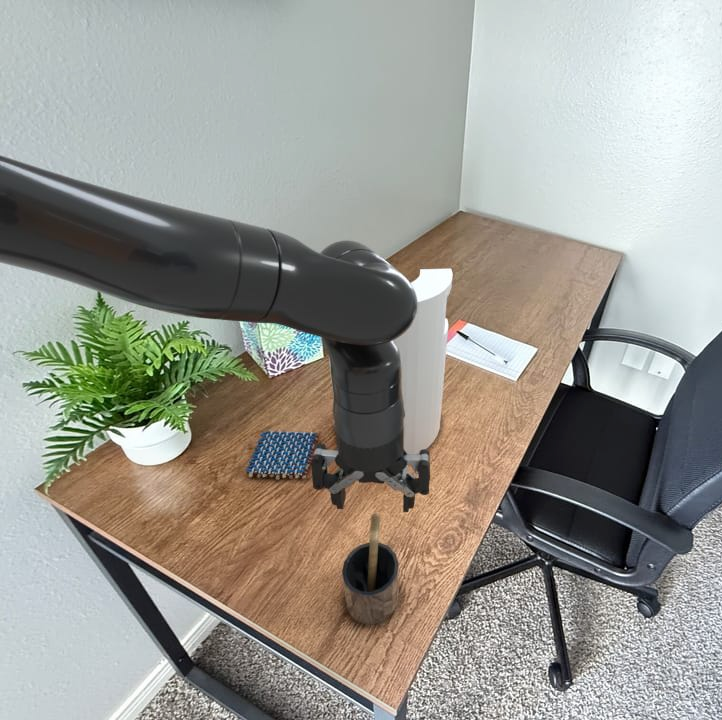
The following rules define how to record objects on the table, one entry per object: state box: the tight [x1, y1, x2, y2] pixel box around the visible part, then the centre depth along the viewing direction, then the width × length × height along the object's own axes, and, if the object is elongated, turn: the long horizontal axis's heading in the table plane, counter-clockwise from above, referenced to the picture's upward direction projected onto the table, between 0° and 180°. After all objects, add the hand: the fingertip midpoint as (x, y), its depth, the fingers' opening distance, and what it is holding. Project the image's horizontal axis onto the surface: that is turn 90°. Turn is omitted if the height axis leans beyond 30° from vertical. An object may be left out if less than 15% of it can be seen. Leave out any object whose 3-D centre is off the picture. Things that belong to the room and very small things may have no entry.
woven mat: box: [245, 430, 319, 481], centre depth 86 cm, size 10×11×2 cm
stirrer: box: [367, 512, 381, 592], centre depth 65 cm, size 9×1×13 cm, turn 2°
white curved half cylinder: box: [327, 268, 454, 455], centre depth 82 cm, size 35×11×21 cm
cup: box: [341, 541, 400, 626], centre depth 66 cm, size 7×7×9 cm
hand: (374, 504), depth 62 cm, fingers open, 8 cm apart
